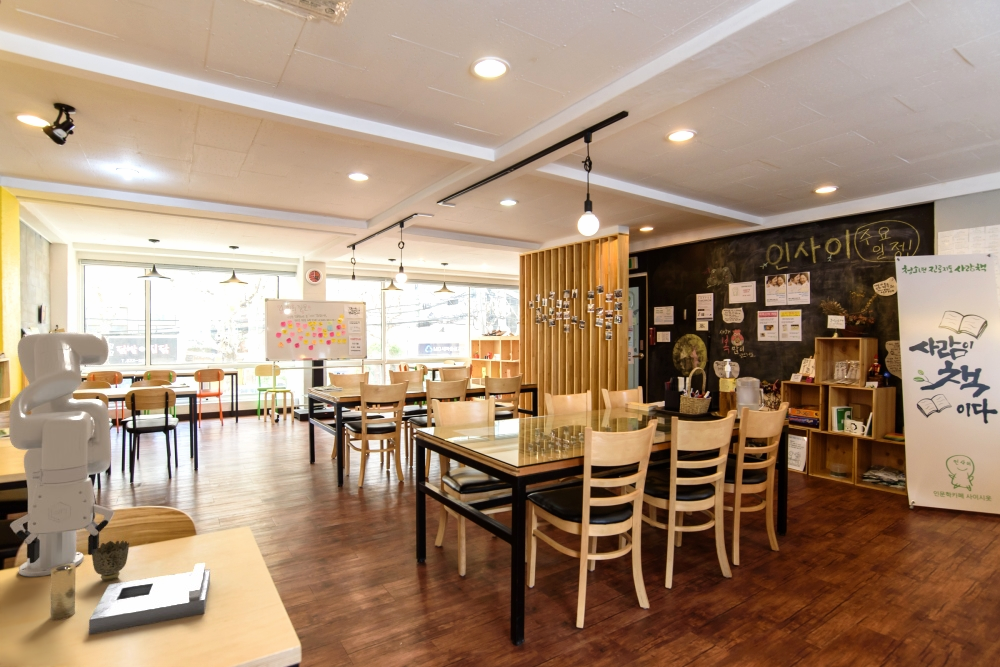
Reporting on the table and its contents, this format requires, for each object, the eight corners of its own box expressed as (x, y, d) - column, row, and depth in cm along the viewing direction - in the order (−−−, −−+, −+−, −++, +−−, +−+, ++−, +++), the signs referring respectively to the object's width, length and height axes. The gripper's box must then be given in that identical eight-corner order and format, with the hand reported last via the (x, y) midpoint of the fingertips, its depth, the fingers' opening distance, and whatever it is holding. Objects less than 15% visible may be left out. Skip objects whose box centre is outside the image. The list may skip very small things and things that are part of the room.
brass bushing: (54, 612, 113) (54, 565, 113) (77, 608, 115) (78, 562, 115) (47, 622, 109) (48, 573, 109) (71, 617, 111) (72, 570, 111)
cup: (108, 587, 124) (109, 553, 124) (82, 584, 126) (83, 550, 126) (136, 573, 131) (136, 541, 131) (111, 570, 133) (112, 538, 133)
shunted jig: (109, 597, 119) (109, 575, 119) (209, 581, 128) (210, 560, 128) (88, 634, 105) (89, 609, 105) (204, 613, 113) (204, 590, 113)
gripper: (3, 483, 105) (2, 571, 104) (110, 474, 112) (109, 556, 112) (19, 475, 112) (18, 557, 111) (118, 467, 119) (117, 543, 118)
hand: (63, 556), depth 111 cm, fingers open, 9 cm apart
